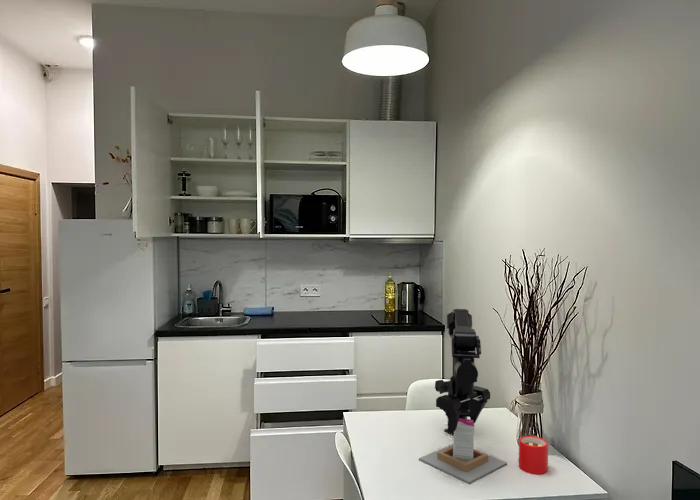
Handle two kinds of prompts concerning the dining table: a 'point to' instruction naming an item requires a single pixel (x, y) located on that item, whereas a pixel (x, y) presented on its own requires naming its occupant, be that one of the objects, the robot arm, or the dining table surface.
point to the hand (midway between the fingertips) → (463, 427)
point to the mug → (533, 455)
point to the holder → (463, 464)
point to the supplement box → (464, 440)
